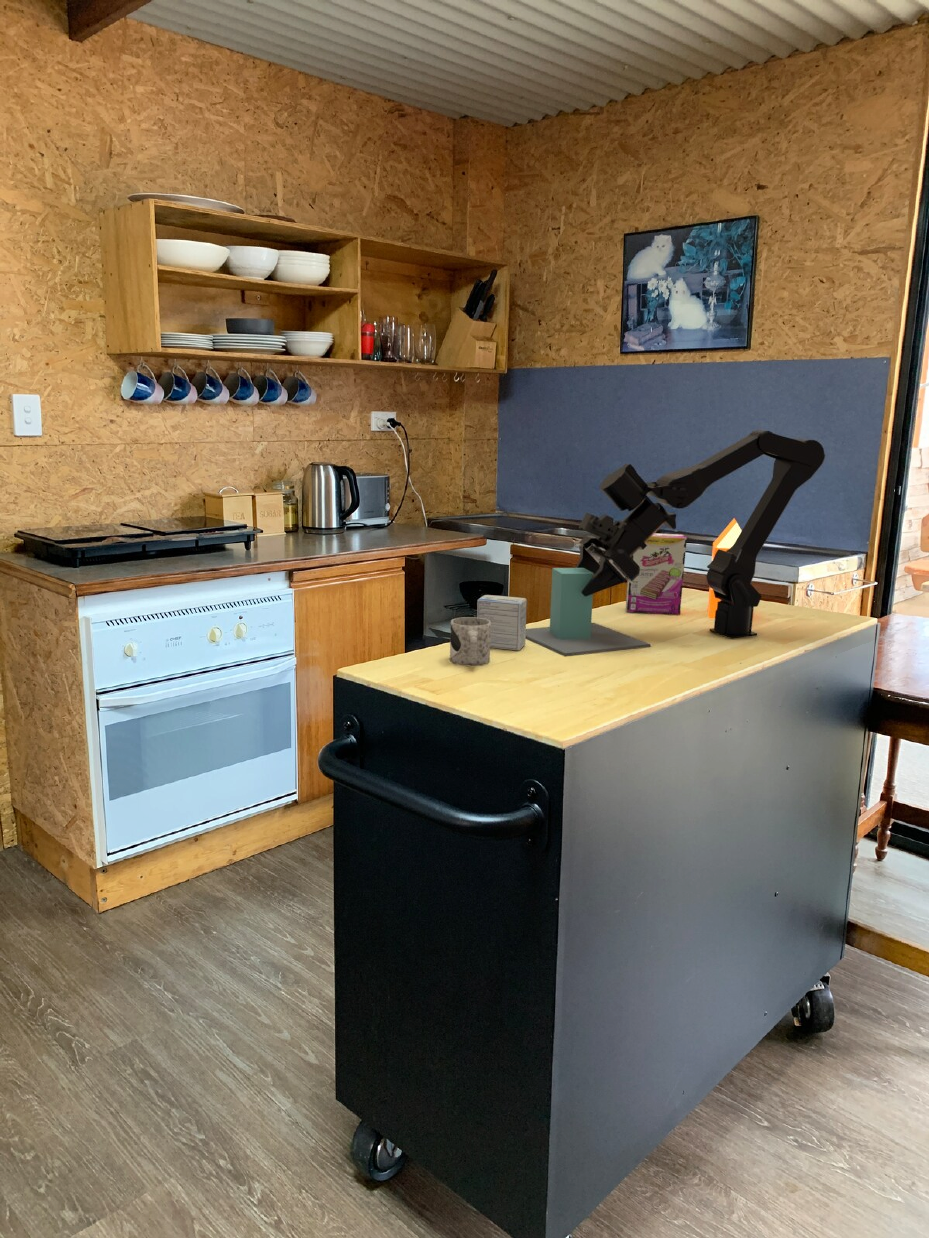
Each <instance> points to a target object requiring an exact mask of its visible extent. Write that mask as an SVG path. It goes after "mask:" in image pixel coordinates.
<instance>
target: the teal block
mask: <svg viewBox="0 0 929 1238" xmlns="http://www.w3.org/2000/svg"><path fill="white" fill-rule="evenodd" d="M551 570H552V571H551V572H552V573H551V592H550V611H549V612H550V614H549V617H550V618H549V627H550V632H551V633H552V634H553V635H554V636H555V637H557V638H558V639H590V637H591V623H592V619H593V618H592V616H593V615H592V613H593V600H594V599H593V597H594V596H593V595H594V594H591V595H589V596H584V595H583V594H582V590H583V589H584V588H585V586H586V585H587V584H588V582H589V581H590V580H591V578H592V577H593V576H594V575H595V574H594V573H592V572H590V571H589V570H587V569H585V568H575V567H552V569H551Z"/></svg>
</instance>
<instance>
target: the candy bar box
mask: <svg viewBox="0 0 929 1238" xmlns="http://www.w3.org/2000/svg"><path fill="white" fill-rule="evenodd" d="M687 541H688V540H687V537H686V536H685V534H676V533H675V534H672V533H657V532H655V533H654V534H653V535H652V536H651V537H650V538H649V539H648V540H647V541H646V542H645V544H646V545H647V547H646V548H644V549H640V548H639V549H638V550H637V551H636V552H635V553H634V554H633V555H632V556H631V558H632V559H633V560H634V561H635V562H636V563H637V564H638V565H639V567H640V572H639V575H638V576H637V577H636V578H635V579H634V580H633V581H630V580H628V579H627V582H626V583H627V585H626V598H625V609H626V612H627V613H639V614H656V615H678V616H680V614H681V609H682V607H681V606H682V595H683V584H684V575H685V574H684V572H685V560H686V550H687Z"/></svg>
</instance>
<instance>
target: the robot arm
mask: <svg viewBox="0 0 929 1238" xmlns="http://www.w3.org/2000/svg"><path fill="white" fill-rule="evenodd" d="M824 449H825V448H824V447H823V445H822V444H821V443H820V442H819V441H818V440H816V439H804V438H791V437H787V436H783V435H780V434H776V433H773V432H772V431H770V430H761V429H760V430H759V429H758V430H753V431H752V432H750V433H749V434H748V435H747V436H745V437H744V438H743V437H742V438H741V439H740V440H738V441H736V442H735V443H733V444H731V445H729V446H728V447H726V448H724V449H722V450H720V451H719V452H717V453H716V454H714V455H712V456H710V457H708V458H707V459H705V460H702V462H700V463H698V464H696V465H692V466H690V467H685V468H681V469H678V470H675V471H672V472H670V473H667V474H663V475H662V476H660V477H659V478H658V479H657V481H651V482H648V481H646V482H645V480H644V479H643V478H642V477H641V476H640V475H639V474H638V472H637V470H636V469H635V468H634V466H633V465H632V464H631V463H625V464H624V465H623V466H622V467H620V468H617V469H616V470H614V472H612V473H609V474H608V475H607V476H606V477H605V478H604V479H603V480H602V482H601V483H600V486H599V489H600V490H601V491H602V493H603V494H604V495H605V496H606V497H607V499H609V501H611V503H612V504H614V506H615V507H616V508H617V509H618V510H619V511H620V512H622V511H625V510H626V511H627V512H630V513H629V514H628V515H627V516H625V518H623V520H622V521H621V520H614V518H613V517H611V516H609V515H607V514H602V515H601V516H599V517H598V516H596V515H594V514H592V513H589V512H585V514H584V516H583V518H582V520H581V522H580V523H579V526H578V528H579V529H580V530H583V531H584V532H586V533H590V535H585V536H584V537H583V538H581V540H580V541H579V542H578V543H579V547H578V549H579V559H578V561H577V564H576V565H575V567H574V568H585V569H587V570H589V571H590V572H592V573H594V576H593V577H592V578H591V580H590V581H589V582H588V584H587V585H586V586H585V588H584V589H583V590H582V594H583V595H584V596H589V595H591V594H593V595H594V594H596V593H599V592H601V591H604V590H606V589H609V588H612V587H614V586H615V587H616V586H618V585H621V584H626V583H628V580H630V581H633V580H634V579H635V578H636V577H637V576H638V575H639V572H640V567H639V565H638V564H637V563H636V562H635V561H634V560H633V559H632V558H631V556H632V555H633V554H634V553H635V552H636V551H637V550H638V549H639V548H640V549H644V548H646V547H647V545H646V544H645V542H646V541H647V540H648V539H649V538H650V537H651V536H652V535H653V534H654V533H657V531H659V530H660V528H662V527H663V526H665V527H666V528H669V529H672V530H675V529H677V522H676V519H677V514H676V513H673V512H668V511H667V510H666V508H665V507H664V506H667V507H670V508H671V507H672V508H675V509H685V508H687V507H690V505H691V504H693V503H694V502H695V501H696V500H697V499H699V498H700V497H701V496H703V494H704V493H705V491H706V490H707V489H708V488H709V487H710V486H711V485H712V484H714V483H716V482H717V481H720V480H721V479H723V478H724V477H726V476H728V475H730V474H732V473H733V472H735V471H737V470H739V469H740V468H742V467H743V466H745V465H747V464H749V463H751V462H752V461H754V460H755V459H757V458H759V457H762V456H763V455H764V456H765V457H769V458H771V459H774V462H773V466H772V467H773V470H772V477H771V479H770V482H769V484H768V486H767V487H766V489H765V491H764V492H763V494H762V496H761V498H760V499H759V501H758V503H757V504H756V506H755V507H754V509H753V511H752V513H751V514H750V517H749V518H748V520H747V521H746V523H745V525H744V526H743V528H742V529H741V531H742V532H741V533H740V535H739V537H738V538H737V540H736V542H735V543H734V545H733V546H732V547H731V548H729V549H728V550H727V551H723V550H720V549H718V550H717V552H716V554H715V556H714V559H713V561H712V560H711V562H710V563H708V565H707V566H706V568H707V569H708V571H707V573H706V576H705V578H706V581H707V584H708V586H709V588H712V589H713V592H714V595H715V598H717V599H720V600H721V601H719V602H718V603H717V610H716V611H715V619H714V624H713V627H712V628H709V630H708V631H709V632H711V633H714V634H717V635H720V636H722V637H726V638H729V639H739V638H740V639H741V638H749V637H757V636H758V632H755V631H752V629H753V619H754V608H756V607H758V606H759V604H760V602H761V599H762V594H761V593H760V592H758V590H757V589H756V588H755V587H754V586H753V585H752V581H753V578H754V576H755V573H756V564H757V558H758V556H759V553H760V552H761V550H762V548H763V546H764V545H765V543H766V542H767V540H768V539H769V536H770V534H771V533H772V532H773V530H774V528H775V526H776V524H777V523H778V522H779V520H780V518H781V516H782V514H783V513H784V511H785V509H786V508H787V506H788V504H789V502H790V501H791V499H792V498H793V496H794V494H795V492H796V491H797V490H798V489H799V488H800V487H801V486H803V485H804V484H805V483H807V482H809V480H810V479H812V477H814V475H815V474H816V472H817V471H818V470H819V469H821V467H822V465H823V464H824V462H825V458H826V454H825V450H824ZM650 497H653V498H656V500H657V502H655V503H654V502H653V501H652V500H651V498H650ZM663 505H664V506H663ZM591 534H592V535H591ZM594 535H595V536H594ZM596 536H597V537H596Z"/></svg>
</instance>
